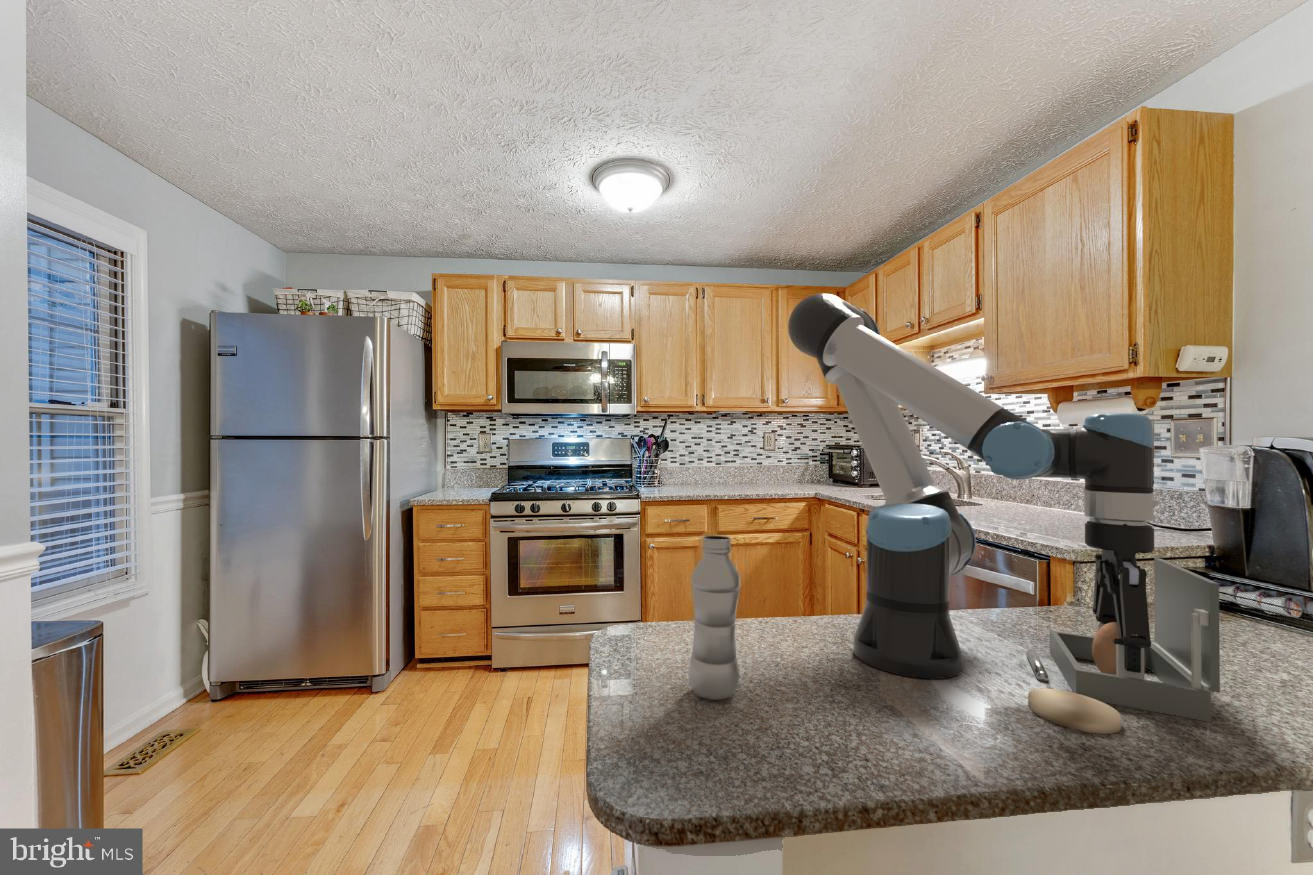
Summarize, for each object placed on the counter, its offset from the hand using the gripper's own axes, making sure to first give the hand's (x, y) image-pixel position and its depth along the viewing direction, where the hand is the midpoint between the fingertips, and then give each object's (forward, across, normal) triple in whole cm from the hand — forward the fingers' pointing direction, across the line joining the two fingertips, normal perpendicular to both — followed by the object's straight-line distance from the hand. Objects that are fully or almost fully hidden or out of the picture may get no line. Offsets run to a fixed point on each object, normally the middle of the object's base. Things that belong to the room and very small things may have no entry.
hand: (1119, 680), depth 76 cm
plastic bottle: (0, -34, +48) cm, 59 cm away
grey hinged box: (0, 0, 0) cm, 0 cm away
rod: (0, 0, +10) cm, 10 cm away
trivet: (0, -16, +8) cm, 18 cm away
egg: (0, 0, 0) cm, 0 cm away
